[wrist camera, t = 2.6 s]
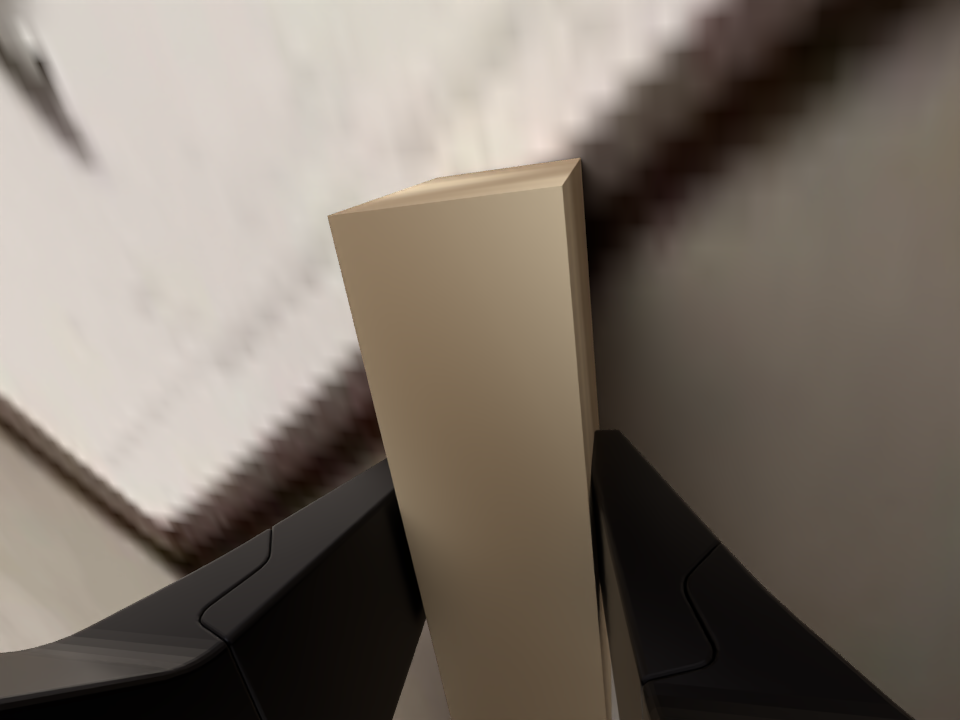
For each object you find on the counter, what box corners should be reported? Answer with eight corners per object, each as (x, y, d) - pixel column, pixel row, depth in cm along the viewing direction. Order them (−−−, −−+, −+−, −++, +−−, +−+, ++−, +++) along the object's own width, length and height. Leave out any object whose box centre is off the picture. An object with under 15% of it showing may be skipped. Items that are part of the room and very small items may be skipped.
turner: (667, 145, 8) (714, 166, 5) (674, 742, 13) (699, 968, 10) (366, 188, 9) (220, 230, 6) (480, 719, 15) (440, 912, 11)
